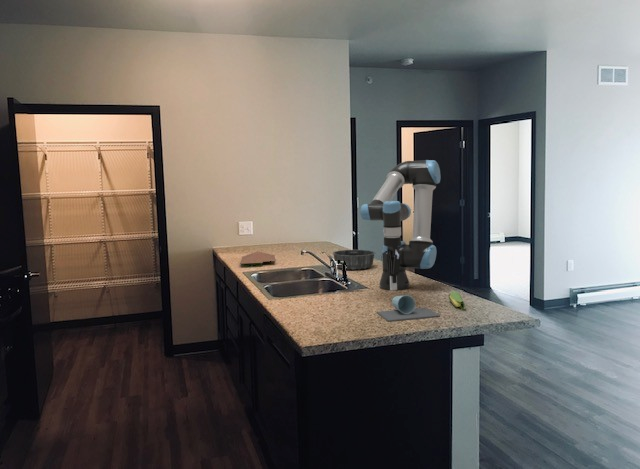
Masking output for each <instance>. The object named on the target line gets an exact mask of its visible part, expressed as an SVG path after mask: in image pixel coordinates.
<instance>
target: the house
mask: <svg viewBox="0 0 640 469" xmlns="http://www.w3.org/2000/svg"><path fill="white" fill-rule="evenodd" d="M270 261H271V262H276V256H275V254H271V253H268V252H267V253H266V252H263V251H259V250H258V251H255V252H252V253H249V254H247V255H243V256H241V260H240V262H239V264H240V265H241V266H242V267H248V266H249V265H251V266H253V264H257V265H263V264H264V263H268V262H270ZM242 264H243V265H242Z"/></svg>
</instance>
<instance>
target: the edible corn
mask: <svg viewBox="0 0 640 469" xmlns="http://www.w3.org/2000/svg"><path fill="white" fill-rule="evenodd" d="M448 299H449V301H450V302H451V304H453V306H454V308H456V309H457V310H461V311H463V310H465V309H466V305H465V302H464V301H463V297H462V296H461V294H460V293H459V292H458V291H452V292H450V293H449V295H448ZM458 307H459V308H458Z"/></svg>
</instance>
